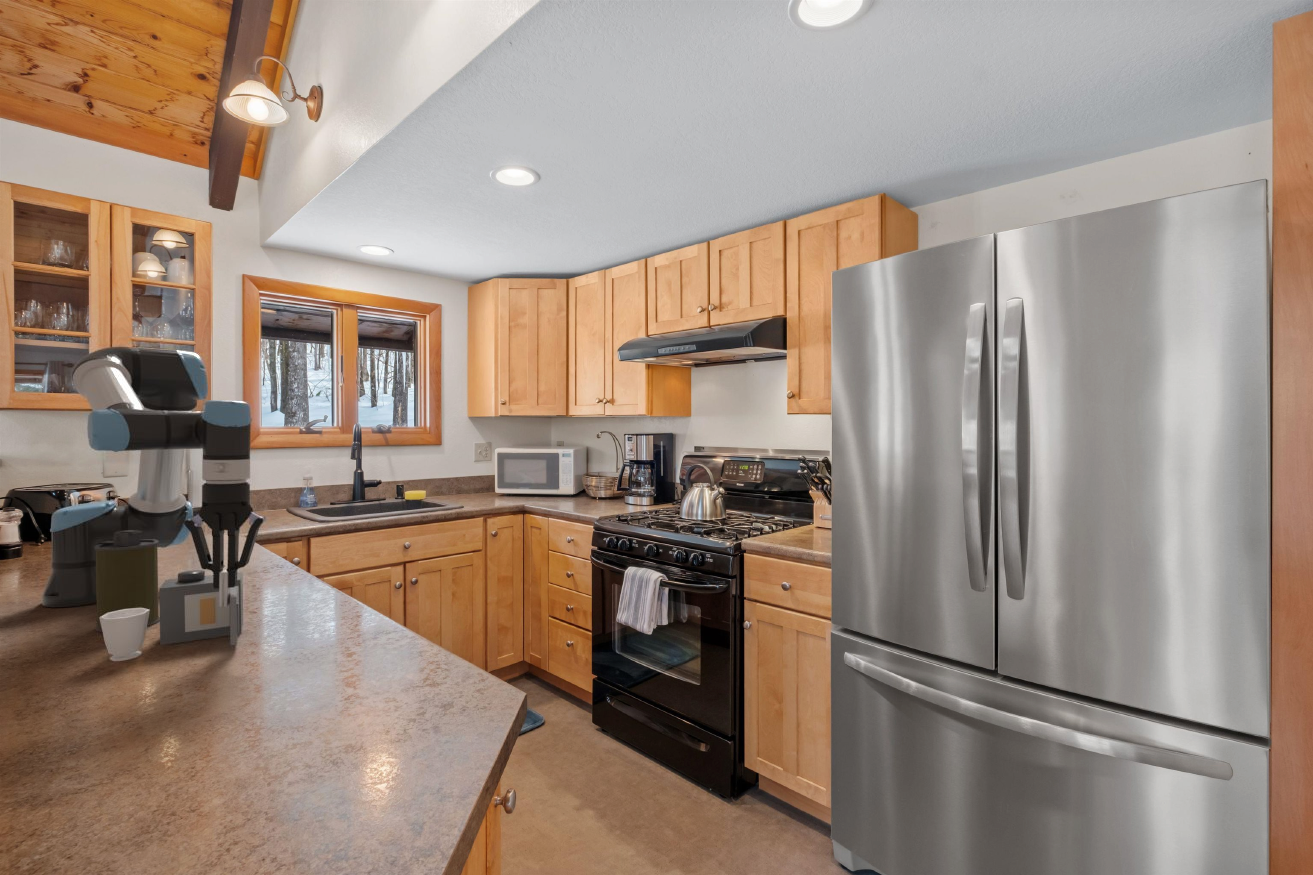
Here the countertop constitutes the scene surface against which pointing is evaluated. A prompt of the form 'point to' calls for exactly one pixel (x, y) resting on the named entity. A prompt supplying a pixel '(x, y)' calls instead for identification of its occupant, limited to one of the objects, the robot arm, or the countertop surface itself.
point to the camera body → (194, 608)
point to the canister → (127, 575)
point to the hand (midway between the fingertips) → (225, 604)
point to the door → (234, 614)
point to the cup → (124, 632)
